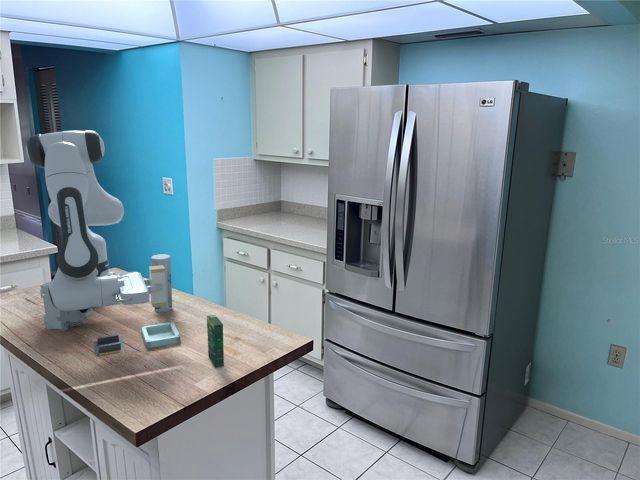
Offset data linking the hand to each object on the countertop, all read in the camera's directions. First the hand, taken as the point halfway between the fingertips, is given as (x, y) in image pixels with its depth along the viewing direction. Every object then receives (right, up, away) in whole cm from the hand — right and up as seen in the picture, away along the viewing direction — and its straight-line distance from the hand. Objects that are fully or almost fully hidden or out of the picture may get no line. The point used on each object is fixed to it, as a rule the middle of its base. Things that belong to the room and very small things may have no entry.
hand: (160, 284), depth 145 cm
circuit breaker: (-33, -15, +11) cm, 38 cm away
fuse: (-1, -6, +1) cm, 6 cm away
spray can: (-8, -12, +28) cm, 31 cm away
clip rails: (-15, -19, -3) cm, 24 cm away
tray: (-1, -18, +4) cm, 18 cm away
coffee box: (+19, -22, -9) cm, 30 cm away
